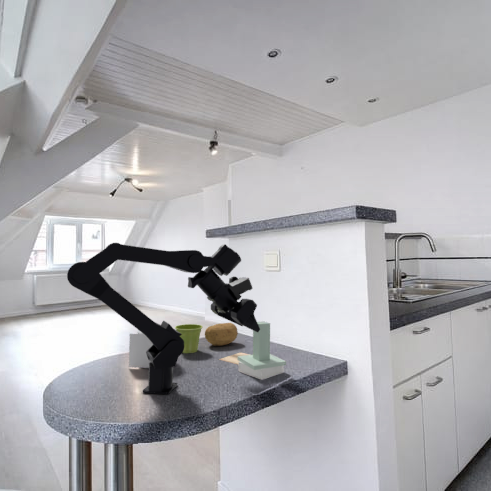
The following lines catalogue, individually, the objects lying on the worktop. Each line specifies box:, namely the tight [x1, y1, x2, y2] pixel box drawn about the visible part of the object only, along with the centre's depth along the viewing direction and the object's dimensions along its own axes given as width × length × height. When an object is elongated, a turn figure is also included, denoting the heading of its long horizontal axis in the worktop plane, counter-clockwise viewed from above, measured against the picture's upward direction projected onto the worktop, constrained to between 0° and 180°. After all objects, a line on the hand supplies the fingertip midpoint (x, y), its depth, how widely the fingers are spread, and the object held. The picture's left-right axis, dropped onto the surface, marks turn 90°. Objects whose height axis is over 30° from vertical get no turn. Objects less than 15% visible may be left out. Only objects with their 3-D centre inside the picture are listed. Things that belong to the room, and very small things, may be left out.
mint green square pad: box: [218, 352, 251, 366], centre depth 105 cm, size 11×11×1 cm
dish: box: [238, 362, 285, 381], centre depth 93 cm, size 9×9×3 cm
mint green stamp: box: [237, 320, 287, 370], centre depth 94 cm, size 10×10×11 cm
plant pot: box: [174, 323, 203, 354], centre depth 115 cm, size 9×9×9 cm
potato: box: [204, 322, 238, 347], centre depth 124 cm, size 10×14×8 cm
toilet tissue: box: [128, 329, 153, 369], centre depth 101 cm, size 11×12×10 cm
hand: (250, 327), depth 92 cm, fingers open, 9 cm apart
